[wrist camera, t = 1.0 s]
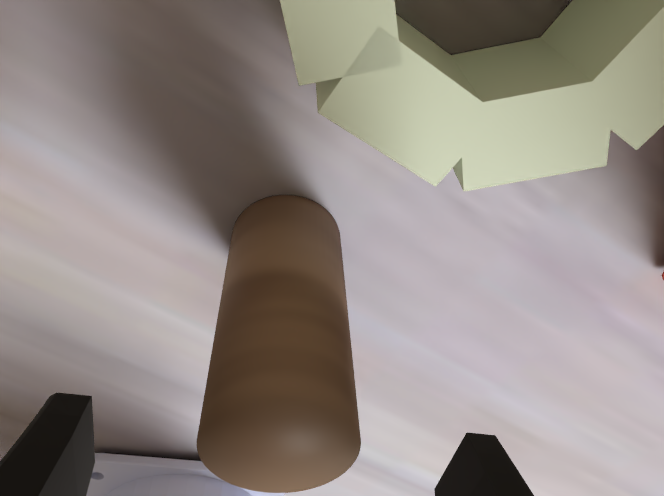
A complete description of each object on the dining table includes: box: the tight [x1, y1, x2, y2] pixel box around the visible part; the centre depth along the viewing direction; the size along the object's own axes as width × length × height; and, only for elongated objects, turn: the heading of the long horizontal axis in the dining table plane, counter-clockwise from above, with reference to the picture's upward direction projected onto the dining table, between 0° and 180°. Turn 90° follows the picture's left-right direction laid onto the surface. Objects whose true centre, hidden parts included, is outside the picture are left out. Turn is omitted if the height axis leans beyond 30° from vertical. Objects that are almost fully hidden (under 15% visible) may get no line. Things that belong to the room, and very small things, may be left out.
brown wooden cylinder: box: [197, 195, 361, 493], centre depth 14 cm, size 3×3×7 cm
